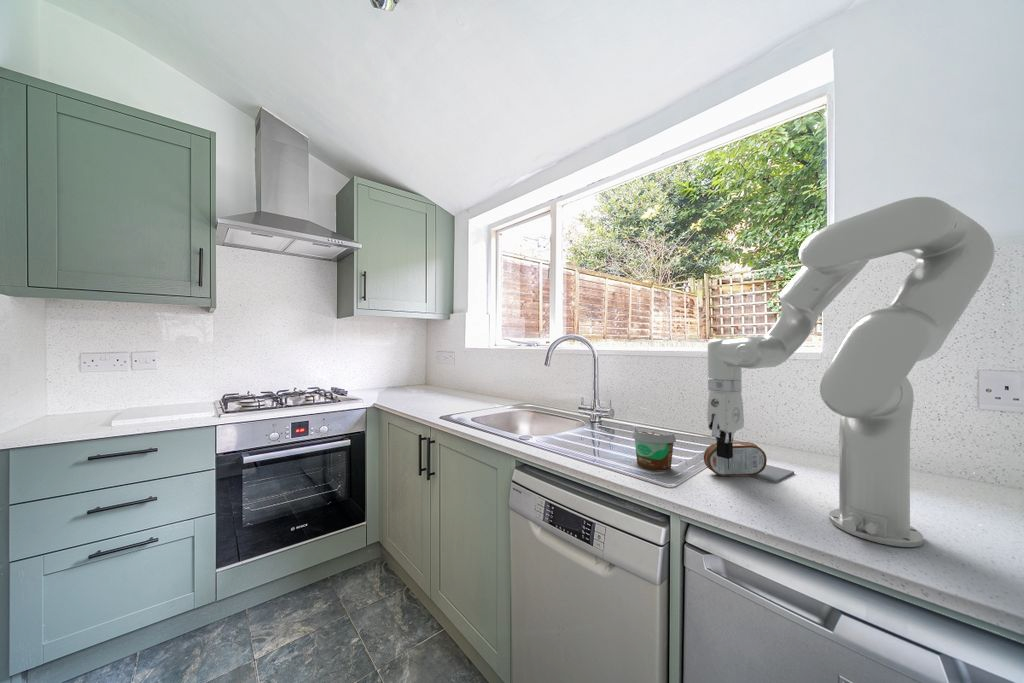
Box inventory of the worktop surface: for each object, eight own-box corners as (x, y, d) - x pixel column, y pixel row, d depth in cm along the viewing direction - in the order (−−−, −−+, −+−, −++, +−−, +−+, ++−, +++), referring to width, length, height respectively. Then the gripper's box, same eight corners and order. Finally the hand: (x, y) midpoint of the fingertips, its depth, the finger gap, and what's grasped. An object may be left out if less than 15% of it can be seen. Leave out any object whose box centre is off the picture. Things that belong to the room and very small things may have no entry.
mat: (775, 483, 91) (775, 480, 91) (711, 465, 105) (711, 463, 105) (794, 473, 98) (794, 471, 98) (731, 458, 111) (731, 456, 111)
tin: (763, 471, 97) (760, 440, 97) (770, 476, 94) (767, 443, 94) (704, 473, 99) (701, 442, 99) (709, 477, 96) (706, 445, 96)
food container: (624, 465, 105) (624, 430, 105) (634, 460, 110) (633, 427, 110) (668, 475, 97) (668, 438, 97) (676, 469, 101) (676, 434, 101)
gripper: (725, 389, 86) (725, 466, 86) (753, 385, 94) (753, 455, 94) (694, 386, 92) (694, 458, 92) (723, 382, 101) (723, 448, 101)
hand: (724, 456), depth 93 cm, fingers closed
